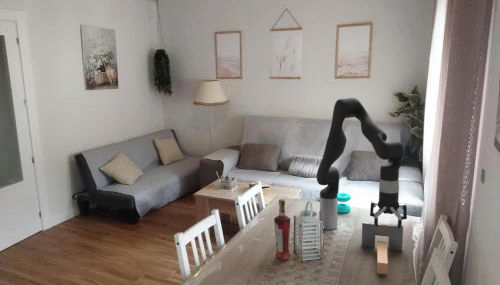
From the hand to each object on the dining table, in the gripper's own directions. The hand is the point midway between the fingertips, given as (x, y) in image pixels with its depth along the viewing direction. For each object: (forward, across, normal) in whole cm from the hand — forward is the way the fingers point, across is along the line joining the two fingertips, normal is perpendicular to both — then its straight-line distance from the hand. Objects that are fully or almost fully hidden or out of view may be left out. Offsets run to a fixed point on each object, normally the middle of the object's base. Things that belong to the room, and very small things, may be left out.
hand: (387, 226), depth 153 cm
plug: (+19, -2, +6) cm, 20 cm away
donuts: (+19, -25, +62) cm, 69 cm away
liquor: (+19, -45, -3) cm, 49 cm away
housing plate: (+19, -2, +19) cm, 27 cm away
